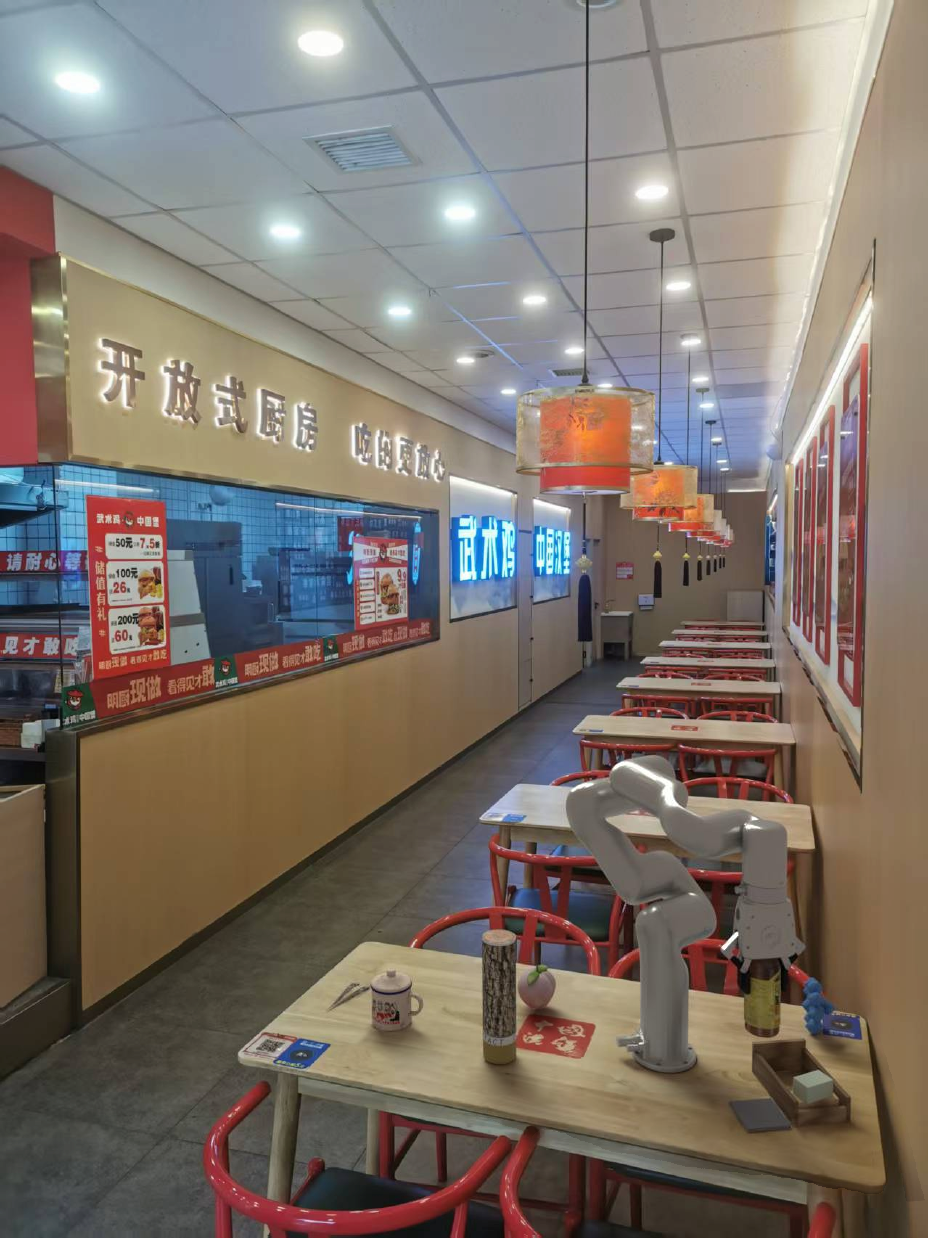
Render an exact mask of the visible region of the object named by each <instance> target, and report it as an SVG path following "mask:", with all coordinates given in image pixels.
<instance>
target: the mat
mask: <svg viewBox="0 0 928 1238" xmlns="http://www.w3.org/2000/svg"><path fill="white" fill-rule="evenodd" d="M728 1105H729V1106H730V1108H731V1109H732V1111H733V1112H734V1114H735V1115H736V1117H737V1119H738V1120H739V1121H740V1123H741V1124H742V1125H743V1127H744V1128H745V1130H746V1132H747V1133H751V1132H754V1133H755V1132H766V1131H777V1130H778V1131H779V1130H787V1129H788V1130H789V1129H792V1123H791V1122H790V1121H789V1119H788V1118H787V1117H786V1115H785V1114H784V1113H783V1112H782V1110H781V1109H780V1108H779V1106H778V1105H777V1104H776V1102H775V1101H774V1100H773V1098H772V1097H767V1098H765V1097H764V1098H757V1099H756V1098H754V1099H752V1098H751V1099H743V1100H742V1099H740V1100H731V1101H728Z"/></svg>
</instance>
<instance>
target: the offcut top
mask: <svg viewBox="0 0 928 1238" xmlns="http://www.w3.org/2000/svg"><path fill="white" fill-rule="evenodd" d="M792 1081H793V1082H792V1091H793V1094H794V1095H796V1096H797V1097H798V1098H800V1099H801V1100H802V1101H804V1102H805V1103H807V1104H809V1103H812V1102H816V1101H819V1100H822V1099H825V1098H828V1097H831V1096H833V1079H831V1078H830V1077H828V1076H827V1075H825V1074H824V1073H822V1072H821V1071H819V1070H816V1071H813V1072H810V1073H806V1074H804V1073H803V1074H800V1075H796V1076H794V1077H792Z"/></svg>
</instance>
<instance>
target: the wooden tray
mask: <svg viewBox="0 0 928 1238" xmlns="http://www.w3.org/2000/svg"><path fill="white" fill-rule="evenodd" d="M751 1047H752V1048H751V1052H752V1053H751V1072H752V1074H753V1075H754V1076H755V1077H756V1079H757V1080H758V1081H759V1083H760V1085H762V1087H763V1088H764V1089H765V1091H766V1092H767V1093H768V1095H769V1096H770V1098H771V1099H772V1100H773V1102H774V1103H775V1104H776V1106H777V1107H778V1108H779V1109H780V1111H781V1112H782V1113H783V1115H784V1116H785V1117H786V1119H787V1120H788V1121H789V1123H790V1124H791V1126H792V1127H802V1126H812V1125H813V1126H816V1125H825V1124H837V1123H838V1124H840V1123H847V1122H848V1123H849V1122H851V1117H852V1116H851V1113H852V1112H851V1111H852V1097H851V1095H850V1094H848V1092H847V1091H846V1090H845V1089H844V1088H843V1087H842V1086H841V1084H839V1082H838V1081H837V1080H836V1079H835V1078H834V1077H833V1076H832V1075H831V1074H830V1072H828V1070H827V1069H826V1068H825V1067H824V1066H823V1065H822V1064H821V1062H820V1061H818V1059H817V1058H816V1057H815V1056H814V1055H813V1054H812V1053H811V1052H810V1051H809V1049H807V1040H806V1039H805V1038H791V1039H777V1040H776V1039H775V1040H763V1041H761V1040H760V1041H752V1043H751ZM816 1070H819V1071H821V1072H822V1073H824V1074H825V1075H827V1076H828V1077H830V1078H831V1079H833V1093H834V1094H835V1095H836V1096H837V1097H838V1098H839V1106H834V1107H822V1108H810V1109H798V1104H799V1101H798V1100H797V1099H796V1098H795V1096H794V1095H793V1094H792V1093H791V1092H790V1091H791V1090H790V1089H789V1088H788V1086H787V1085H786V1084H785V1083H784V1081H782V1079H781V1078H780V1077H779V1075H778V1074H777V1073H784V1072H796V1071H797V1072H799V1071H801V1072H803V1074H806V1073H810V1072H813V1071H816Z"/></svg>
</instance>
